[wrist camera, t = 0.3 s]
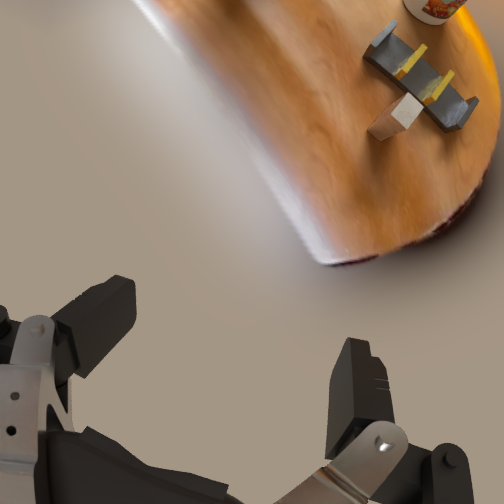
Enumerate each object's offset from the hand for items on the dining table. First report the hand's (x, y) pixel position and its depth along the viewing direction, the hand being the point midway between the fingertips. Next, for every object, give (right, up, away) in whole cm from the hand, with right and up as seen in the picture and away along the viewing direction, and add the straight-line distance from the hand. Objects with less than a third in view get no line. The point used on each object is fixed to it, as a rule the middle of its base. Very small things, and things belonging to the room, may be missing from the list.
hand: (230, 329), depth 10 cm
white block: (+17, +19, +23) cm, 34 cm away
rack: (+23, +26, +21) cm, 41 cm away
